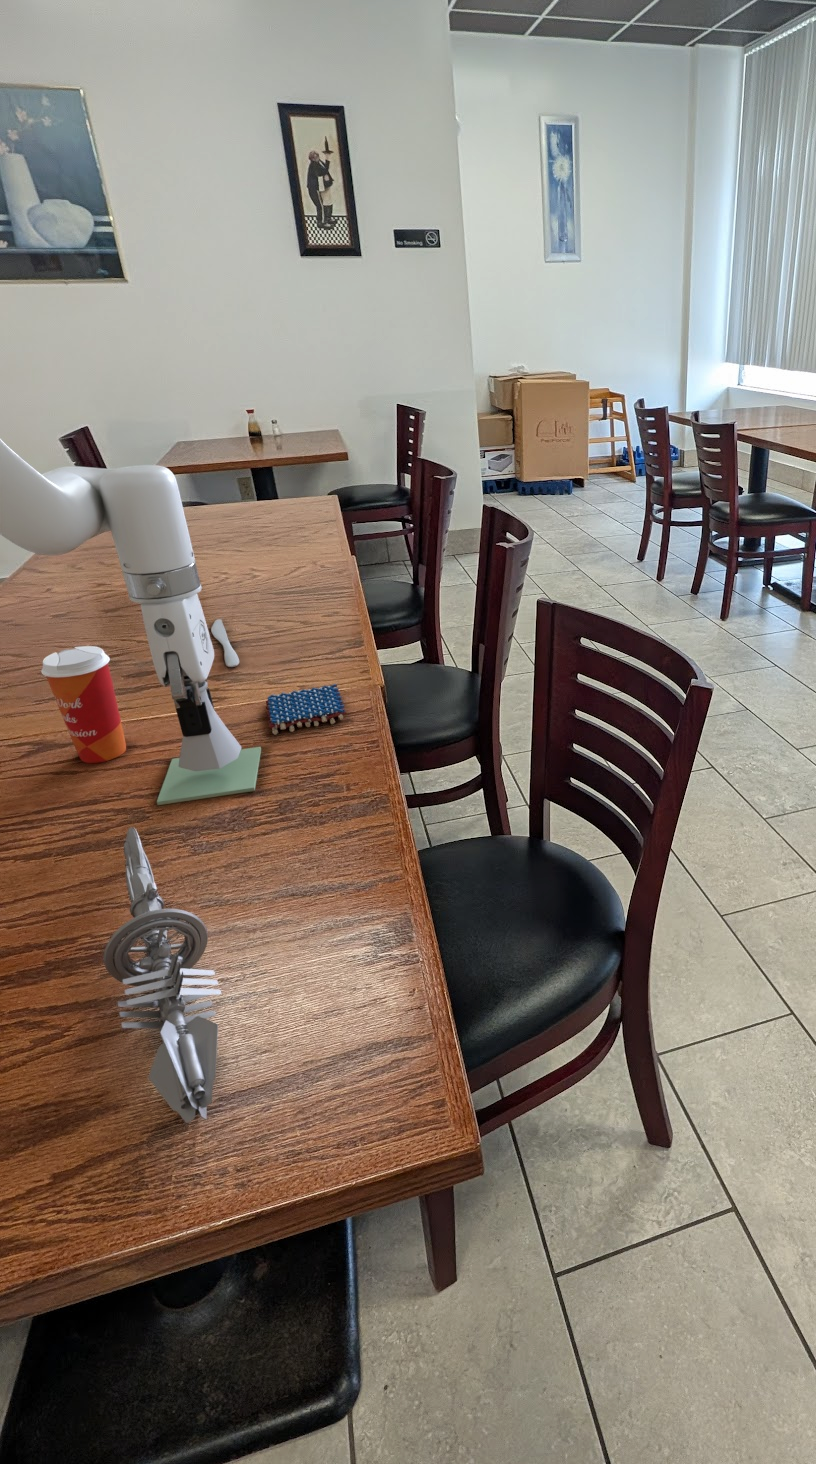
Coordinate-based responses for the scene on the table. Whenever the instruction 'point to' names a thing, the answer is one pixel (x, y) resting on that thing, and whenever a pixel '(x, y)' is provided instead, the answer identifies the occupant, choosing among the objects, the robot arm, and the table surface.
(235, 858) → the table surface
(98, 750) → the paper cup
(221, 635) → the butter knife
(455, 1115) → the table surface
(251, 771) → the coaster
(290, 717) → the woven mat
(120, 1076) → the table surface
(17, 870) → the table surface
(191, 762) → the flask
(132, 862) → the spaceship
